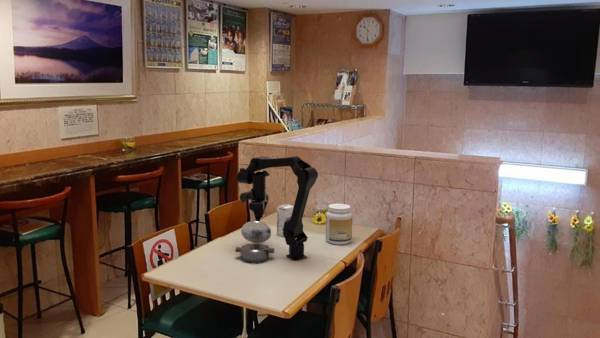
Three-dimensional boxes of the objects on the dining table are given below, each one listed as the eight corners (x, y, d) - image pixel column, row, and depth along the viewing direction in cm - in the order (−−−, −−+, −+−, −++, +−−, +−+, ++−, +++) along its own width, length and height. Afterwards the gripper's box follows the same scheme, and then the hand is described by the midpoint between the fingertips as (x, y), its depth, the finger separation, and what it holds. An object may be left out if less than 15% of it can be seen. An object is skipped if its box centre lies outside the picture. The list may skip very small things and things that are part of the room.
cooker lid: (242, 242, 215) (243, 237, 217) (271, 243, 214) (272, 238, 216) (239, 222, 207) (240, 217, 209) (270, 222, 206) (270, 218, 208)
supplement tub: (356, 243, 230) (357, 207, 227) (333, 246, 225) (334, 210, 222) (342, 235, 241) (343, 201, 238) (320, 239, 236) (321, 204, 233)
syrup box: (284, 232, 245) (284, 203, 243) (293, 234, 241) (294, 205, 239) (276, 235, 241) (276, 205, 238) (286, 237, 237) (286, 208, 235)
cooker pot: (277, 259, 208) (277, 248, 207) (248, 266, 200) (248, 255, 199) (261, 250, 218) (261, 240, 217) (232, 257, 210) (232, 246, 209)
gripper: (244, 181, 226) (245, 214, 229) (236, 189, 208) (237, 225, 211) (268, 181, 226) (269, 215, 228) (262, 190, 207) (263, 226, 210)
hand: (259, 220), depth 219 cm, fingers open, 8 cm apart
